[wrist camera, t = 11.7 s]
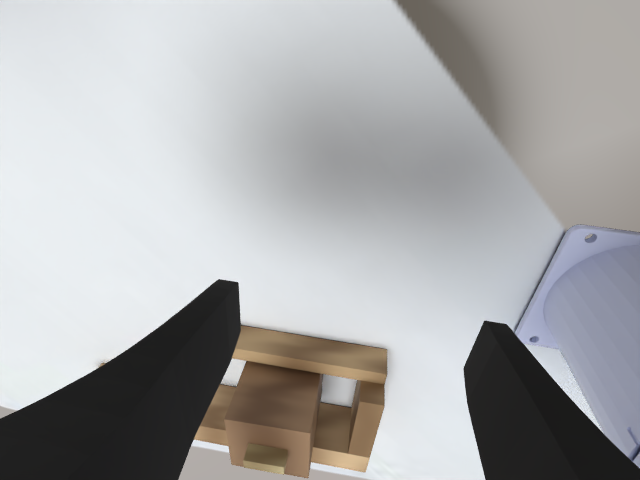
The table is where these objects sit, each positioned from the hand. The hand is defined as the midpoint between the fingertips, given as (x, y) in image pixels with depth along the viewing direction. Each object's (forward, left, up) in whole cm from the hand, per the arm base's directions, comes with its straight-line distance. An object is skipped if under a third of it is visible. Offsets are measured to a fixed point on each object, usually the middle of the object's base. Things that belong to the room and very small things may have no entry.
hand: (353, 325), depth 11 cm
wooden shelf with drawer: (+8, +15, -9) cm, 20 cm away
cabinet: (+4, +15, -10) cm, 18 cm away
